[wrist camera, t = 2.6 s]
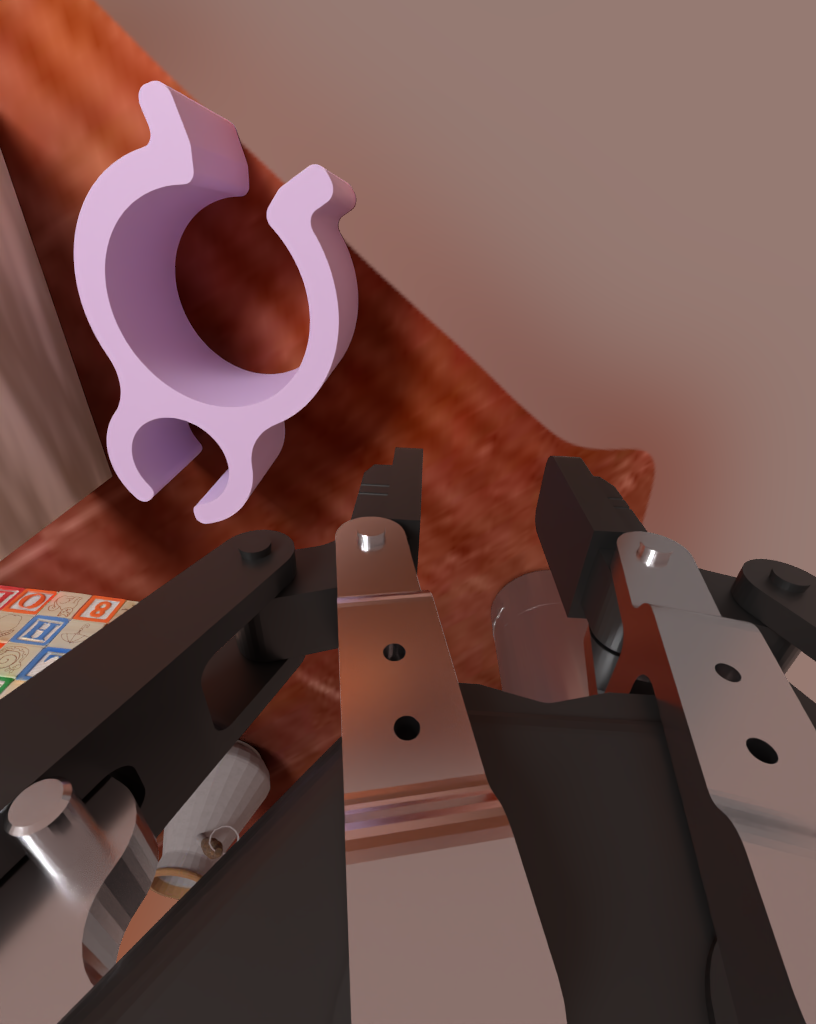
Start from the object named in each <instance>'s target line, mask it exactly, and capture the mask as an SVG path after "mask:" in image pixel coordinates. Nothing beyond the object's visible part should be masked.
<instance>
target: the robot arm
mask: <svg viewBox="0 0 816 1024" xmlns="http://www.w3.org/2000/svg"><path fill="white" fill-rule="evenodd" d="M422 463H423V449H416V448H397V447H396V449H395V454H394V460H393V465H373V466H372V467H371V468H370V469H369V470H367V471H366V472H365V473H364V476H363V479H362V483H361V486H360V490H359V494H358V497H357V500H356V504H355V507H354V511H353V514H352V518H351V520H350V521H348V522H346V523H344V524H343V525H342V526H341V527H339V529H338V530H337V532H336V536H335V541H333V542H331V543H328V544H325V545H322V546H317V547H311V548H304V549H298V550H295V548H294V543H293V541H292V540H291V539H290V538H289V537H288V536H287V535H285V534H283V533H280V532H277V531H271V530H256V531H250V532H246V533H242V534H239V535H237V536H235V537H232V538H231V539H229V540H227V541H226V542H225V543H223V544H222V545H220V546H219V547H217V548H216V549H215V550H213V551H212V552H210V553H209V554H207V555H206V556H205V557H203V558H202V559H200V560H199V561H197V562H196V563H195V564H193V565H192V566H190V567H189V568H187V569H186V570H185V571H183V572H182V573H180V574H179V575H177V576H176V577H174V578H173V579H172V580H170V581H169V582H167V583H166V584H164V585H163V586H162V587H160V588H159V589H157V590H156V591H154V592H153V593H152V594H150V595H149V596H147V597H146V598H144V599H143V600H142V601H140V602H139V603H137V604H136V605H134V606H133V607H132V608H130V609H129V610H127V611H126V612H124V613H123V614H122V615H120V616H119V617H117V618H116V619H114V620H113V621H112V622H110V623H109V624H107V625H106V626H104V627H103V628H102V629H100V630H99V631H97V632H96V633H94V634H93V635H92V636H90V637H89V638H87V639H86V640H84V641H83V642H82V643H80V644H79V645H77V646H76V647H74V648H73V649H72V650H70V651H69V652H67V653H66V654H64V655H63V656H62V657H60V658H59V659H57V660H56V661H54V662H53V663H52V664H50V665H49V666H47V667H46V668H44V669H43V670H42V671H40V672H39V673H37V674H36V675H34V676H33V677H32V678H30V679H29V680H27V681H26V682H24V683H23V684H22V685H20V686H19V687H17V688H16V689H14V690H13V691H12V692H10V693H9V694H7V695H6V696H4V697H3V698H1V699H0V1024H816V703H814V702H813V701H812V700H811V699H809V698H808V697H807V696H806V695H804V694H803V693H802V692H801V691H799V690H798V689H797V688H796V687H794V686H793V685H792V684H791V683H789V682H788V680H787V678H786V677H785V673H786V672H787V670H788V669H789V668H790V666H791V665H792V663H793V662H794V661H795V659H796V658H797V656H798V655H799V654H800V652H801V651H802V652H803V653H805V654H806V655H808V656H809V657H810V658H812V659H813V660H815V661H816V577H815V576H813V575H811V574H809V573H808V572H806V571H804V570H801V569H799V568H797V567H794V566H792V565H789V564H786V563H782V562H778V561H773V560H767V559H755V560H750V561H747V562H746V563H744V565H743V567H742V569H741V571H740V572H739V574H738V576H737V578H736V577H731V576H728V575H723V574H719V573H715V572H711V571H707V570H703V569H699V568H698V567H697V565H696V563H695V561H694V559H693V557H692V555H691V554H690V553H689V552H688V550H686V549H685V548H684V547H683V546H681V545H680V544H678V543H677V542H675V541H673V540H671V539H669V538H666V537H664V536H661V535H658V534H654V533H649V532H647V531H646V529H645V528H644V526H643V525H642V524H641V522H640V521H639V520H638V518H637V517H636V516H635V514H634V513H633V511H632V510H631V509H629V506H628V505H627V503H626V502H625V500H622V499H623V498H622V496H621V495H620V494H619V492H618V491H617V489H616V488H615V487H614V486H613V485H611V484H610V483H608V482H607V481H605V480H604V479H602V478H601V477H595V476H593V475H592V474H591V472H590V471H589V469H588V468H587V466H586V465H585V463H584V462H583V460H582V459H581V458H580V457H563V456H550V457H549V458H548V460H547V463H546V467H545V471H544V476H543V480H542V485H541V490H540V494H539V499H538V503H537V508H536V516H535V523H536V531H537V534H538V536H539V539H540V542H541V545H542V548H543V551H544V553H545V556H546V559H547V562H548V565H549V567H550V570H544V571H536V572H532V573H529V574H525V575H523V576H521V577H518V578H516V579H514V580H513V581H511V582H510V583H508V584H507V585H506V586H505V587H504V588H503V589H502V590H501V591H500V592H499V593H498V595H497V596H496V598H495V599H494V602H493V605H492V608H491V619H492V626H493V636H494V640H495V645H496V652H497V658H498V665H499V671H500V677H501V684H502V690H503V691H501V690H497V689H494V688H490V687H486V686H483V685H479V684H467V683H458V681H457V677H456V674H455V670H454V667H453V664H452V660H451V657H450V654H449V650H448V647H447V643H446V640H445V637H444V633H443V630H442V627H441V623H440V620H439V617H438V613H437V610H436V606H435V603H434V600H433V597H432V594H431V592H430V591H429V590H423V591H421V589H420V586H419V582H418V578H417V565H418V549H419V533H420V514H421V488H422ZM234 635H235V636H234ZM233 636H234V637H233ZM232 637H233V638H232ZM221 647H222V648H221ZM220 648H221V649H220ZM336 648H339V667H340V695H341V723H342V736H341V737H340V738H339V739H338V740H337V741H336V742H335V743H334V744H333V745H332V746H331V747H330V748H329V749H328V750H327V751H326V752H325V753H324V754H323V755H322V756H321V757H320V758H319V759H318V760H317V761H316V762H315V763H314V764H313V765H312V766H311V767H310V768H309V769H308V770H307V771H306V772H305V773H304V774H303V775H302V776H301V777H300V778H299V779H298V780H297V781H296V782H295V783H294V784H293V785H292V786H291V787H290V789H289V790H288V791H287V792H286V793H285V794H284V795H283V796H282V797H281V798H280V799H279V800H278V801H277V802H276V803H275V804H274V805H273V806H272V807H271V808H270V809H269V810H268V811H267V812H266V813H265V814H264V815H263V816H262V817H261V818H260V819H259V820H258V821H257V822H256V823H255V824H254V825H253V826H252V827H251V828H250V829H249V830H248V831H247V832H246V833H245V834H244V835H243V836H242V837H241V838H240V839H239V840H238V841H237V842H236V843H235V844H234V845H233V846H232V847H231V848H230V849H229V850H228V851H227V852H226V853H225V854H224V855H223V856H222V857H221V858H220V859H219V860H218V861H217V862H216V863H215V864H214V865H213V866H212V867H211V868H210V869H209V870H208V871H207V872H206V873H205V874H204V875H203V876H202V877H201V878H200V879H199V880H198V881H197V882H196V884H195V885H194V886H193V887H192V888H191V889H190V890H189V891H188V892H187V893H186V894H185V895H184V896H183V897H182V898H181V899H180V900H179V901H178V902H177V903H176V904H175V905H174V906H173V907H172V908H171V909H170V910H169V911H168V912H167V913H166V914H165V915H164V916H163V917H162V918H161V919H160V920H159V921H158V922H157V923H156V924H155V925H154V926H153V927H152V928H151V929H150V930H149V931H148V932H147V933H146V934H145V935H144V936H143V937H142V938H141V939H140V940H139V941H138V942H137V943H136V944H135V945H134V946H133V947H132V948H131V949H130V950H129V951H128V952H127V953H126V954H125V955H124V956H123V957H122V958H121V959H120V960H119V961H118V962H117V963H116V959H117V954H118V950H119V946H120V943H121V941H122V938H123V935H124V932H125V930H126V928H127V926H128V924H129V922H130V920H131V918H132V917H133V915H134V914H135V912H136V911H137V909H138V907H139V906H140V904H141V902H142V901H143V899H144V898H145V896H146V895H147V892H148V890H149V888H150V886H151V884H152V882H153V879H154V876H155V873H156V869H157V864H158V853H159V852H158V844H157V841H156V838H157V836H158V835H159V834H160V833H161V832H162V830H163V829H164V828H165V827H166V826H167V824H168V823H169V822H170V821H171V820H172V818H173V817H174V816H175V815H176V814H177V812H178V811H179V810H180V809H181V808H182V806H183V805H184V804H185V803H186V802H187V800H188V799H189V798H190V797H191V796H192V794H193V793H194V792H195V791H196V790H197V788H198V787H199V786H200V785H201V783H202V782H203V781H204V780H205V779H206V777H207V776H208V775H209V774H210V773H211V771H212V770H213V769H214V768H215V767H216V765H217V764H218V763H219V762H220V761H221V759H222V758H223V757H224V756H225V755H226V753H227V752H228V751H229V750H230V749H231V747H232V746H233V745H234V744H235V743H236V741H237V740H238V739H239V738H240V737H241V735H242V734H243V733H244V732H245V731H246V729H247V728H248V727H249V726H250V725H251V723H252V722H253V721H254V720H255V719H256V717H257V716H258V715H259V714H260V713H261V711H262V710H263V709H264V708H265V707H266V705H267V704H268V703H269V702H270V701H271V699H272V698H273V697H274V696H275V695H276V693H277V692H278V691H279V690H280V689H281V687H282V686H283V685H284V684H285V683H286V681H287V680H288V679H289V678H290V677H291V675H292V674H293V673H294V672H295V671H296V669H297V668H298V667H299V666H300V664H301V663H302V662H303V660H304V658H305V655H307V654H312V653H317V652H322V651H326V650H331V649H336ZM219 649H220V650H219ZM218 650H219V651H218ZM217 651H218V652H217ZM216 652H217V653H216Z"/></svg>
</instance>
